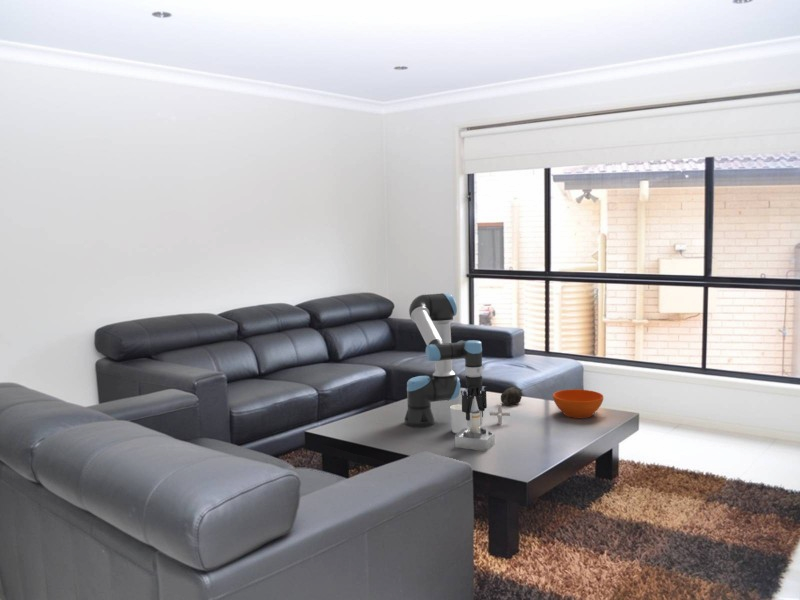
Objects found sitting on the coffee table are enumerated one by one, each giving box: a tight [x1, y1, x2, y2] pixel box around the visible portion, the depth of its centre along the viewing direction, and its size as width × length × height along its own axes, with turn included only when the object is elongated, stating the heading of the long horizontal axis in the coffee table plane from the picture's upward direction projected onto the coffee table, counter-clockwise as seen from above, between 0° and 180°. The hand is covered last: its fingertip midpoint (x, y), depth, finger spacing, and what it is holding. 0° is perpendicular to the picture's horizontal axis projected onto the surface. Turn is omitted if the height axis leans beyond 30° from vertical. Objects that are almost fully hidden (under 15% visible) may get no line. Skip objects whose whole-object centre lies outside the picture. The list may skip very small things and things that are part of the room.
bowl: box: [552, 389, 604, 419], centre depth 371 cm, size 25×25×10 cm
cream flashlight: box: [469, 410, 482, 434], centre depth 326 cm, size 5×5×10 cm
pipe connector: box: [489, 403, 511, 425], centre depth 359 cm, size 10×10×10 cm
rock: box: [500, 386, 523, 406], centre depth 395 cm, size 10×11×10 cm
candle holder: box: [449, 403, 469, 434], centre depth 349 cm, size 10×10×12 cm
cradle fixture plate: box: [454, 426, 496, 452], centre depth 327 cm, size 15×11×7 cm
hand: (474, 425), depth 326 cm, fingers closed on cream flashlight, 5 cm apart
